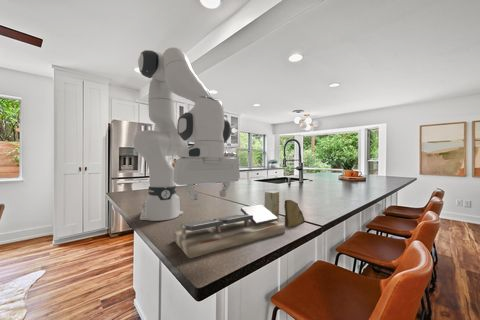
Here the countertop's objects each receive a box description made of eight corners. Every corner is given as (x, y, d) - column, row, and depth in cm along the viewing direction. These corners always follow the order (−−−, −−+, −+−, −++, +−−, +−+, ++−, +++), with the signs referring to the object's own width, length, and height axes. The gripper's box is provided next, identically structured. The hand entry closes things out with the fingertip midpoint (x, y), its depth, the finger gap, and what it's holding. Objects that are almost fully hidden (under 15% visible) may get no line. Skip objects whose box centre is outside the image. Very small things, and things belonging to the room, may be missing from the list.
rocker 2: (240, 210, 78) (241, 207, 78) (260, 207, 84) (261, 204, 83) (255, 225, 70) (256, 222, 70) (277, 220, 76) (277, 217, 76)
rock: (300, 213, 92) (279, 210, 91) (308, 200, 87) (285, 197, 86) (307, 234, 84) (283, 232, 83) (315, 222, 79) (290, 219, 78)
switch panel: (174, 241, 66) (174, 221, 66) (260, 222, 86) (260, 206, 86) (189, 258, 55) (189, 234, 55) (284, 232, 75) (284, 214, 75)
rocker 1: (181, 228, 65) (180, 224, 66) (209, 223, 71) (209, 219, 71) (192, 231, 57) (191, 226, 57) (223, 224, 63) (223, 220, 63)
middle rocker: (213, 222, 72) (213, 218, 72) (237, 218, 77) (237, 214, 77) (227, 224, 64) (227, 219, 64) (253, 219, 69) (252, 215, 69)
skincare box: (272, 221, 88) (272, 193, 87) (263, 219, 90) (264, 192, 90) (279, 218, 93) (279, 191, 93) (271, 216, 95) (271, 190, 95)
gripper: (233, 152, 69) (232, 193, 69) (171, 151, 58) (171, 200, 58) (243, 152, 64) (243, 196, 64) (178, 150, 52) (178, 204, 53)
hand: (209, 198), depth 61 cm, fingers open, 8 cm apart
